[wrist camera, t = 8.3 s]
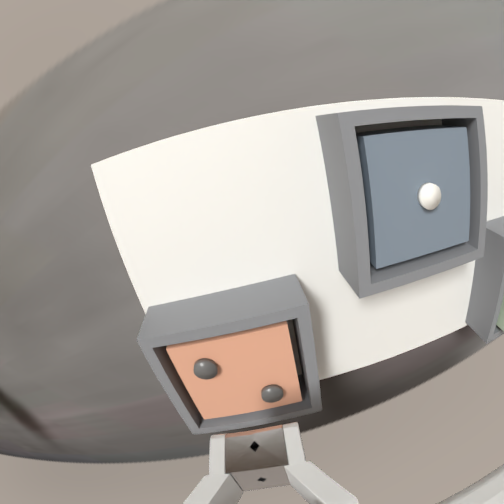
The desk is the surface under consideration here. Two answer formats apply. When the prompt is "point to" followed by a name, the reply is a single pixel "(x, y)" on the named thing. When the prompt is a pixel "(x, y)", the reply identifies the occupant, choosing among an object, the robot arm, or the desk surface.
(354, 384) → the desk surface
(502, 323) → the button three
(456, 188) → the button one
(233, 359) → the button two
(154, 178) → the button panel
